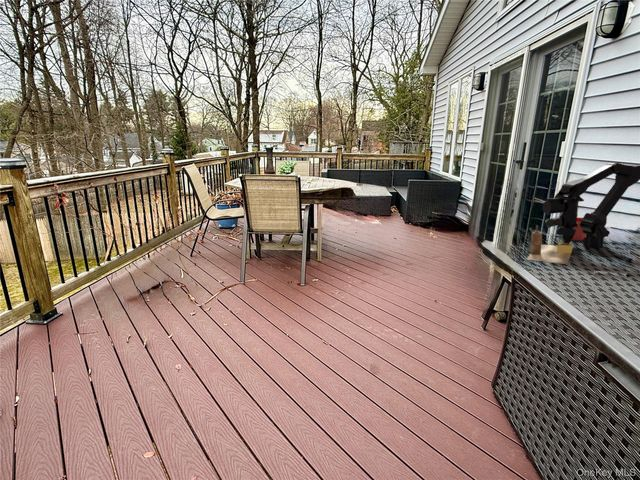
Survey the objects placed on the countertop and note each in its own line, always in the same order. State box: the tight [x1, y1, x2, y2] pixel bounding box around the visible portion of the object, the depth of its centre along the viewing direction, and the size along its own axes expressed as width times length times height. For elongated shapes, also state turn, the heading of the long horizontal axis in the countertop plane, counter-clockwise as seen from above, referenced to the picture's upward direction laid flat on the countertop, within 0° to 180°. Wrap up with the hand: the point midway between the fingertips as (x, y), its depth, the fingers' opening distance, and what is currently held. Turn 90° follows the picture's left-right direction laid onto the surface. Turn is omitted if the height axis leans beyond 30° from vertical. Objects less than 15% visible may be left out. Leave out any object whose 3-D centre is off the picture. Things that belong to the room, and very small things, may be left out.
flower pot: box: [571, 216, 586, 241], centre depth 168 cm, size 11×11×10 cm
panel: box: [526, 244, 574, 265], centre depth 149 cm, size 22×26×1 cm
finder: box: [556, 242, 574, 255], centre depth 148 cm, size 5×4×4 cm
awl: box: [530, 225, 543, 255], centre depth 148 cm, size 4×4×13 cm
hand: (566, 246), depth 153 cm, fingers closed
